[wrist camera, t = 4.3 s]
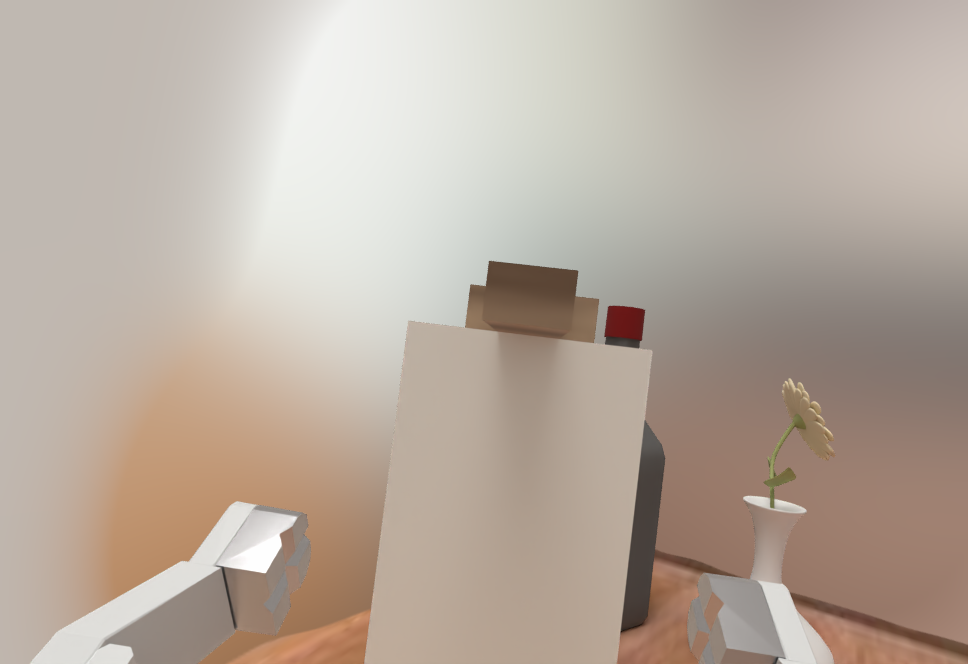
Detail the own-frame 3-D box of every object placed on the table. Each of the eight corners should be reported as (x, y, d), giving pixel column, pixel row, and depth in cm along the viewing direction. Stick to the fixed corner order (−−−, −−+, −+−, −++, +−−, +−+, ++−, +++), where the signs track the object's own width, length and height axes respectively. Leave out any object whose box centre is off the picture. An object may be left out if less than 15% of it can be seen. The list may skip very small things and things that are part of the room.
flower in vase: (829, 722, 42) (863, 384, 43) (673, 659, 49) (705, 367, 50) (837, 656, 53) (864, 387, 54) (708, 612, 60) (735, 372, 61)
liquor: (596, 642, 50) (635, 302, 51) (526, 598, 57) (561, 301, 58) (658, 622, 56) (692, 315, 57) (587, 584, 63) (619, 313, 64)
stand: (591, 883, 27) (652, 350, 28) (342, 832, 28) (408, 320, 29) (568, 672, 45) (605, 353, 46) (416, 646, 46) (456, 334, 47)
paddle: (632, 337, 19) (640, 262, 19) (423, 312, 20) (432, 240, 20) (581, 347, 39) (585, 310, 39) (478, 335, 39) (483, 299, 40)
